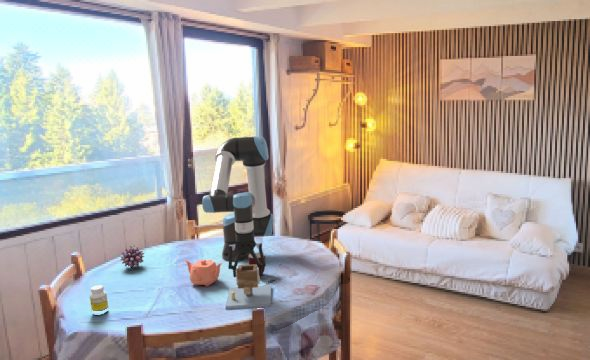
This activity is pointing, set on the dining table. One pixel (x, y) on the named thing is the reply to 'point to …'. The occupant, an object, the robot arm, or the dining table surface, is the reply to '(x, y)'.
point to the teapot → (203, 272)
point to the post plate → (249, 297)
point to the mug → (251, 261)
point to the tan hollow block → (247, 277)
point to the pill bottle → (98, 298)
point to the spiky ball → (132, 256)
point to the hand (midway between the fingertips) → (248, 283)
